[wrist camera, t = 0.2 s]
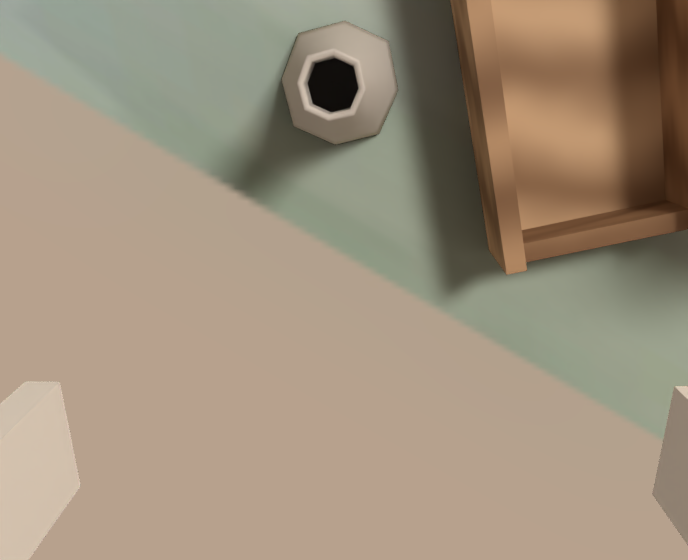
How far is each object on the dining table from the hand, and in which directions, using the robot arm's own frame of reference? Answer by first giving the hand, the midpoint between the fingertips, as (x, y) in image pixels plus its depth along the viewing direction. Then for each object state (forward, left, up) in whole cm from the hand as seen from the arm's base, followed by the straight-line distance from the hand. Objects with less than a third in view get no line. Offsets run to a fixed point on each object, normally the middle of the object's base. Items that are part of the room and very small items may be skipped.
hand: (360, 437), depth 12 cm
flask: (-7, 0, -27) cm, 28 cm away
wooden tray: (-5, +14, -26) cm, 30 cm away
